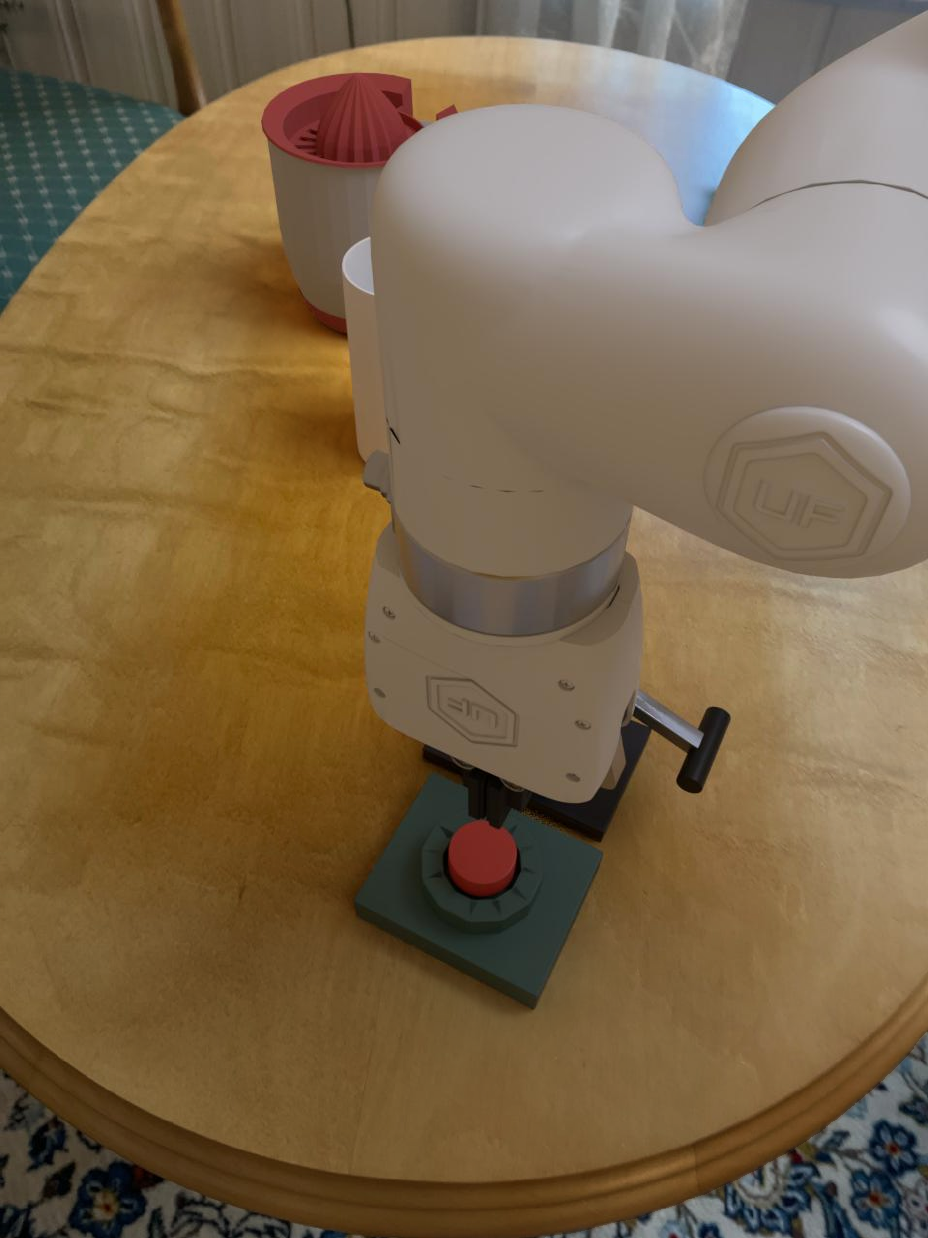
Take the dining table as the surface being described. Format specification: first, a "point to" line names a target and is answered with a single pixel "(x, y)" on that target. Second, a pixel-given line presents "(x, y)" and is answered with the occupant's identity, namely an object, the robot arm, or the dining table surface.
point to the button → (482, 858)
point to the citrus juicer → (333, 172)
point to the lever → (686, 738)
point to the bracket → (585, 815)
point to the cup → (364, 349)
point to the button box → (472, 925)
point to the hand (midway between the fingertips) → (498, 797)
